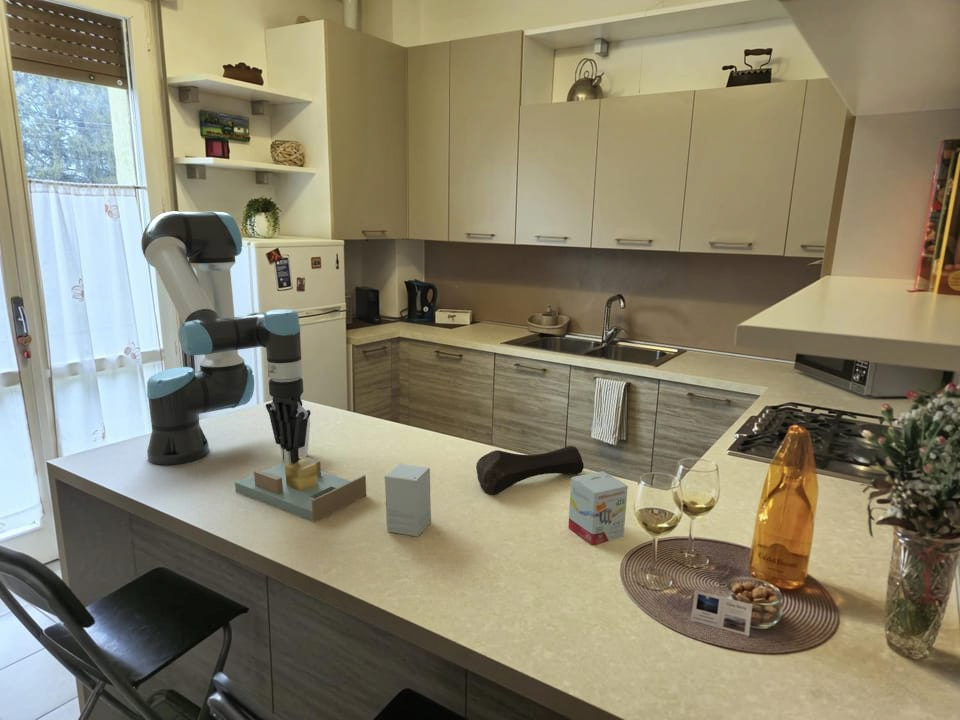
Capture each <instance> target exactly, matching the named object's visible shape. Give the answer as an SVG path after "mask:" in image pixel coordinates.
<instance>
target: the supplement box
mask: <svg viewBox="0 0 960 720" xmlns="http://www.w3.org/2000/svg"><path fill="white" fill-rule="evenodd" d="M430 468H431V467H429V466H419V465H412V464H404V463H399V464H397V465H396V466H395V467H394V468H393V469H392V470H390V471H389V472H388V473H387V474H386V475H384V486H385V487H384V489H385V512H386V513H385V514H386V517H385V518H386V531H387V532H388V533H394V534H400V535H406V536H412V537H416V538H417V537H419V536H420V535H421V534H422V533H423V532H424V530H425V529H426V528H427V527H428V526H429V525H430V523H431V521H432V508H431V507H432V505H431V469H430ZM421 532H422V533H421Z"/></svg>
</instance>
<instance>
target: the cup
mask: <svg viewBox="0 0 960 720" xmlns="http://www.w3.org/2000/svg"><path fill="white" fill-rule="evenodd" d="M310 418H311V417H309V418H308V423H307V431H306V439H305V446H304V447H301V448H299V449H298V453H299V455H301V456H304V457H307V456H308V455H309V453H308V452H309V443H310V431H311V430H310V429H311V421H310V420H311V419H310ZM279 438H280V437H279ZM278 445H279V449H280V452H281V453H280V454H281V457H282V459H283V448H281V445H280V444H278Z"/></svg>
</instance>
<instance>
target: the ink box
mask: <svg viewBox="0 0 960 720" xmlns="http://www.w3.org/2000/svg"><path fill="white" fill-rule="evenodd" d="M628 487H629V486H628V485H627V484H625V483H624V482H622V481H621V480H619V479H617V478H615V477H614V476H612V475H610V474H609V473H607V472H605V471H603V470H601V471H596V472H592V473H586V474H582V475H575V476H572V477H571V479H570V492H569V493H570V494H569V495H570V496H569V510H568V511H569V512H568V527H567V528H568V529H569V530H570V531H571V532H572V533H573V534H575V535H577V537H579V538H581V539H582V540H583V541H584V542H586V543H588V544H589V545H590V546H592V547H594V546H597V545H600V544H604V543H606V542H610V541H614V540H616V539H620V538H624V536H625V525H626V523H625V522H626V513H627V498H628Z"/></svg>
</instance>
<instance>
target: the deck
mask: <svg viewBox="0 0 960 720" xmlns="http://www.w3.org/2000/svg"><path fill="white" fill-rule="evenodd" d="M301 459H303V460H306V461H309V462H312V463H316V464H317V481H318V484H316V485H313V486H311V487H309V488H307V489H305V490H302V491H299V490H297V489H294V488H291V487H288V486H287V485H286V475H285V462H283V463H280V464H278V465H275V466H273V467H270V468H268V469H265V470H261V469H257V470H255V471H253V474H252V475H250V476H248V477H244V478H242V479H240V480H238V481H235V482H234V488H235V492H236V493H238V494H241V495H243V496H245V497H248V498H251V499H252V500H256V501H259V502H261V503H263V504H266V505H269V506H271V507H274V508H277V509H279V510H281V511H284V512H287V513H290V514H292V515H294V516H297V517H299V518H302V519H305V520H308V521H310V522H313V523H316V522H318V521H320V520H322V519H323V518H326V517H327V516H329V515H331V514H333V513H335V512H337V511H339V510H341V509H343V508H346V507H347V506H349V505H351V504H353V503H355V502H356V501H358V500H361V499H363V498H364V497H366V496H367V482H366V481H367V480H366V479H367V477H366V475H365V474H364V475H362V476H359V477H357V478H355V479H353V480H349V479H345V478H343V477H339V476H337V475H333V474H330V473H327V472H324V471H322V470H321V461H320V460H316V459H313V458H310V457H307V456H306V457H304V456H301V455H299V460H301Z"/></svg>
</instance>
